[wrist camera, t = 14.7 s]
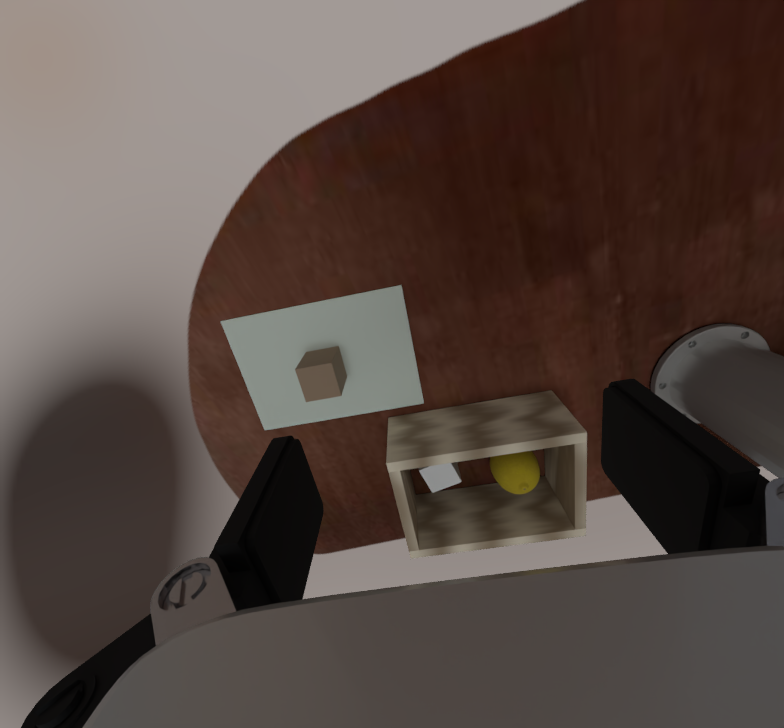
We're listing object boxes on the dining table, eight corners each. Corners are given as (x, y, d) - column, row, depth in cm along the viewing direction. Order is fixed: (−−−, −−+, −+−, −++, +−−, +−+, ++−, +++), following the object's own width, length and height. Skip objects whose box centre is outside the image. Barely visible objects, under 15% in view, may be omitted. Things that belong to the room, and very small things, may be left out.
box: (551, 390, 44) (587, 432, 36) (554, 481, 50) (585, 535, 41) (388, 417, 46) (386, 463, 38) (408, 502, 52) (410, 558, 43)
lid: (401, 283, 40) (401, 295, 35) (423, 400, 46) (427, 425, 40) (223, 319, 42) (198, 335, 36) (266, 426, 48) (250, 454, 42)
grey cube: (444, 439, 47) (448, 458, 44) (456, 461, 49) (461, 481, 45) (417, 450, 48) (418, 470, 44) (429, 471, 49) (432, 493, 46)
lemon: (475, 451, 48) (489, 496, 41) (500, 421, 46) (520, 461, 39) (508, 468, 49) (528, 514, 42) (535, 439, 47) (560, 482, 40)
